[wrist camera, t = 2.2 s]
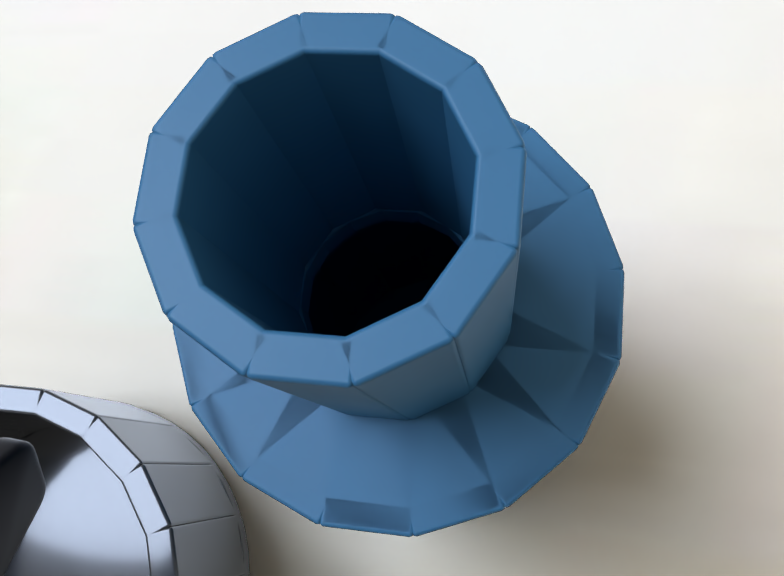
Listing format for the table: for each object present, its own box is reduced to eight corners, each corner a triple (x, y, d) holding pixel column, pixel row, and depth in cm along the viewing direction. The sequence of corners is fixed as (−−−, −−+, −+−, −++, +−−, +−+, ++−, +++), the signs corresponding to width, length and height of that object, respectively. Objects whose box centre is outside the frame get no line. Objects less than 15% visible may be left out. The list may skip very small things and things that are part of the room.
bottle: (551, 512, 18) (710, 637, 5) (316, 485, 19) (-98, 527, 6) (564, 278, 20) (715, -133, 6) (343, 264, 21) (59, -123, 7)
